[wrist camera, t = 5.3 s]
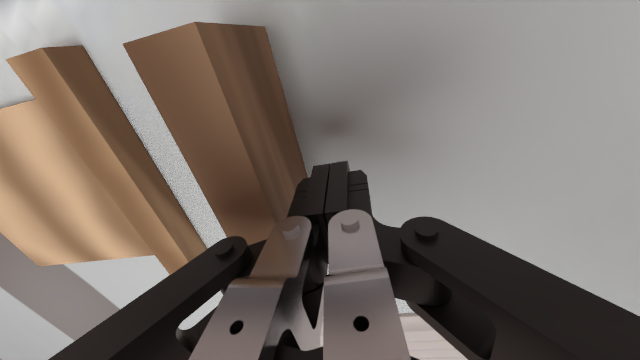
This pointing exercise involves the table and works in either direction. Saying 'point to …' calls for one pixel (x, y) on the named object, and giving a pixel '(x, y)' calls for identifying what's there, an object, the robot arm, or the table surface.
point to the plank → (226, 119)
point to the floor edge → (82, 172)
